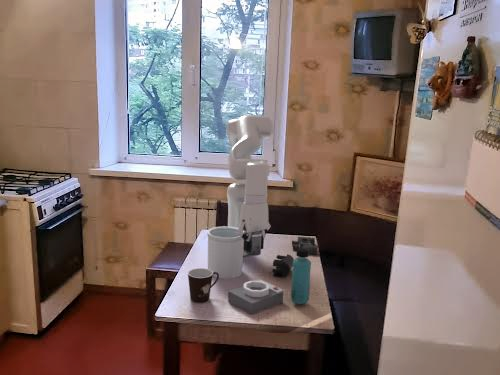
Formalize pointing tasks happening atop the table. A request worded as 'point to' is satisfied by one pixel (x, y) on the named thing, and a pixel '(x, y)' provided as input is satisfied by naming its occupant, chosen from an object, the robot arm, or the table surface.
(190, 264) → the table surface
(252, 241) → the lens
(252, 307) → the camera body
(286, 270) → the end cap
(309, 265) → the beverage bottle
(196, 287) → the coffee mug
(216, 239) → the utensil holder
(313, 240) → the binoculars
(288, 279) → the table surface
